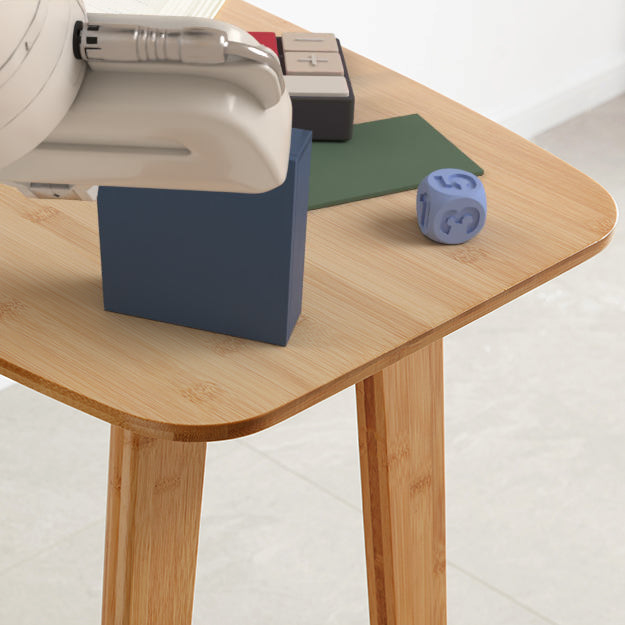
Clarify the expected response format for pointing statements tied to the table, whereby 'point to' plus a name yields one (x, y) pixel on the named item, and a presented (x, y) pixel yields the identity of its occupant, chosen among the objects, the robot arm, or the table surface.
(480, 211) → the decorative dice
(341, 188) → the mat
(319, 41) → the calculator
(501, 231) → the table surface
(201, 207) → the dustpan
